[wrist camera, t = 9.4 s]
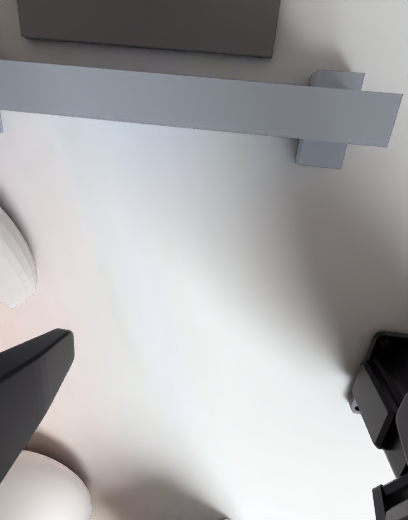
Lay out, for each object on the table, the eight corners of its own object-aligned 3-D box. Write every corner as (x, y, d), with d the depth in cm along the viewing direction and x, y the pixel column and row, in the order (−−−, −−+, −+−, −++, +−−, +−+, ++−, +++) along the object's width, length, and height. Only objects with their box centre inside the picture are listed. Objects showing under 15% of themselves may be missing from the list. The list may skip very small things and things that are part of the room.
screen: (355, 77, 15) (416, 50, 10) (334, 166, 16) (376, 183, 11) (-47, 43, 16) (-182, 4, 11) (-31, 128, 17) (-142, 128, 12)
